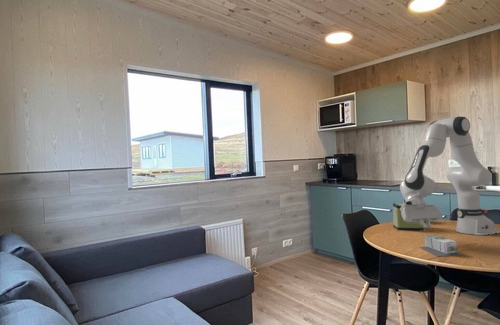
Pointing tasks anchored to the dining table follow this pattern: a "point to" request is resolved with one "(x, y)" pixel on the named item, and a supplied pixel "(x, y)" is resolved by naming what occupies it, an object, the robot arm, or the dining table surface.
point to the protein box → (399, 221)
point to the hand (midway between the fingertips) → (428, 227)
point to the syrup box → (441, 244)
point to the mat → (439, 252)
